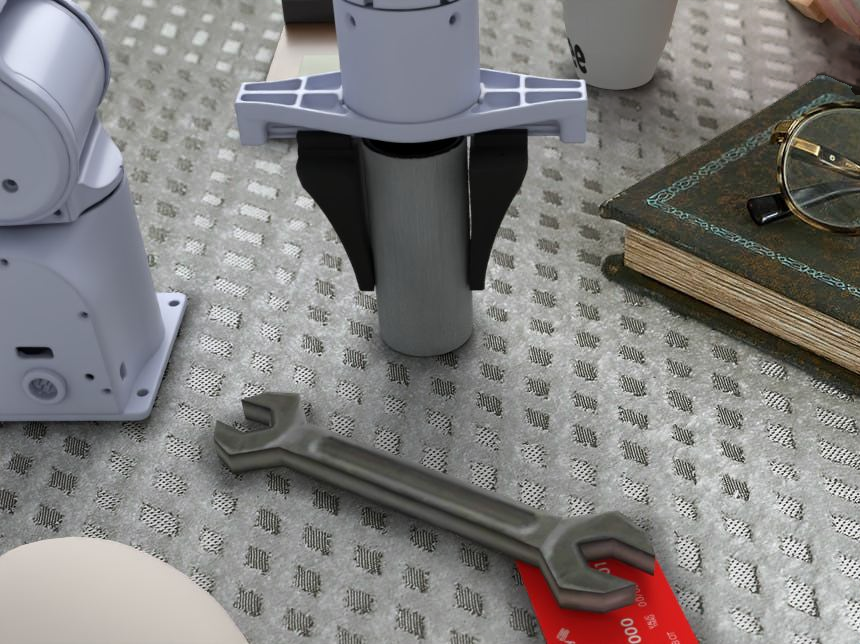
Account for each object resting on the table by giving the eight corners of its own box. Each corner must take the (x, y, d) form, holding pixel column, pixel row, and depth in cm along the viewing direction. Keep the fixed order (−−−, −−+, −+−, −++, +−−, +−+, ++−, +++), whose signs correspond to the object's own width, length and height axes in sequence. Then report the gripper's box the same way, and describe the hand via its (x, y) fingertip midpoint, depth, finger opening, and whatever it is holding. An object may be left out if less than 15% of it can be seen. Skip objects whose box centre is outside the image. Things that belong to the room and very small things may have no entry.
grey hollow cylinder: (450, 294, 60) (441, 99, 53) (488, 342, 57) (484, 142, 50) (366, 317, 59) (344, 120, 52) (400, 368, 56) (383, 166, 49)
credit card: (512, 552, 47) (512, 551, 47) (639, 526, 48) (639, 525, 48) (577, 723, 41) (577, 722, 41) (721, 689, 42) (721, 688, 42)
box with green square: (426, 135, 72) (423, 77, 70) (262, 136, 72) (252, 79, 70) (435, 45, 82) (433, -8, 79) (290, 46, 82) (283, -7, 79)
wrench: (615, 614, 43) (189, 439, 50) (615, 642, 44) (200, 467, 51) (673, 522, 45) (260, 369, 53) (671, 551, 47) (268, 397, 54)
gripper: (586, -56, 49) (575, 232, 59) (235, -53, 49) (281, 234, 59) (595, 12, 44) (581, 315, 54) (204, 15, 44) (259, 317, 54)
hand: (423, 279), depth 56 cm, fingers closed on grey hollow cylinder, 4 cm apart
